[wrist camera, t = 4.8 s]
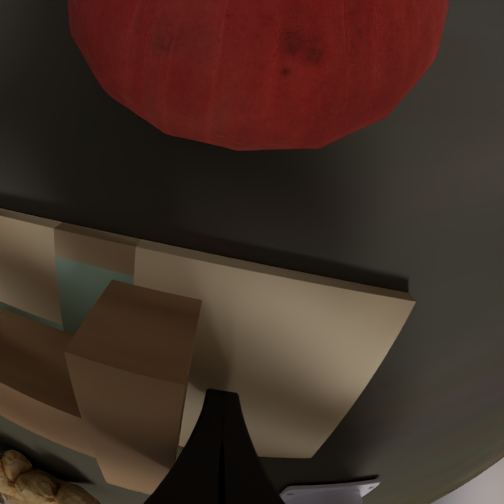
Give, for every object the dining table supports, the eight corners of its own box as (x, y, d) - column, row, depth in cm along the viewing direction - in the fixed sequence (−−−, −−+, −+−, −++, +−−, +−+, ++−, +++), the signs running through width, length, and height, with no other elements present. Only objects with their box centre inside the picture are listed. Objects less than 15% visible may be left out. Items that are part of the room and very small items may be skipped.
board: (309, 449, 15) (310, 458, 14) (1, 375, 13) (-4, 381, 12) (409, 292, 10) (416, 301, 10) (-43, 198, 8) (-52, 202, 8)
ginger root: (-7, 466, 20) (-25, 505, 12) (-20, 394, 18) (-55, 441, 10) (98, 516, 24) (91, 561, 16) (115, 464, 22) (104, 528, 14)
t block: (179, 440, 13) (171, 498, 10) (33, 394, 12) (8, 440, 9) (202, 300, 9) (184, 384, 6) (-7, 245, 8) (-64, 290, 5)
